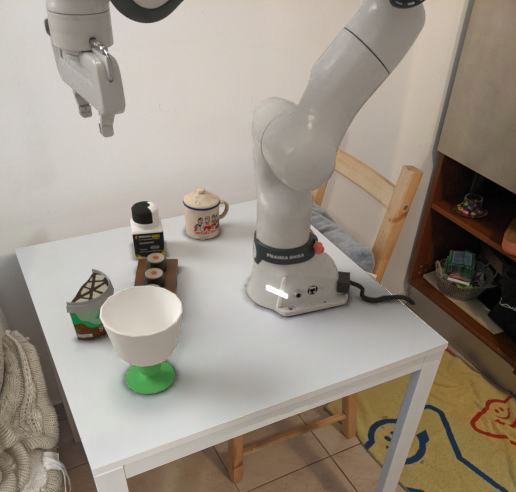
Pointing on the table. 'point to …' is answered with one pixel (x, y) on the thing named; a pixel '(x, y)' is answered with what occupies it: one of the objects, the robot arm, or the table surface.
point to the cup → (144, 334)
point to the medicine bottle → (146, 229)
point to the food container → (90, 306)
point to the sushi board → (167, 274)
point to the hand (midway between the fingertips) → (96, 125)
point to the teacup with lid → (203, 213)
